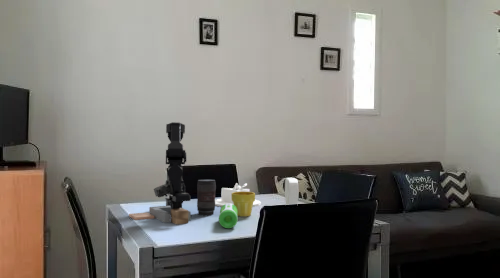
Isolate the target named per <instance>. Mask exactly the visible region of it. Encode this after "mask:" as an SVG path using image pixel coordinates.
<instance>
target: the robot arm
mask: <svg viewBox="0 0 500 278" xmlns="http://www.w3.org/2000/svg"><path fill="white" fill-rule="evenodd" d="M165 126H166V129H165V132H166V134H167V138H168V140H169V142H170V143H168V145H167V149H165V165H168V167H167V179H166V180H165V184H161V185H159V186H157V187H155V188H153V192H154V195H155V197H157V198H162V197H165V198H164V199H165V206H171V209H180V208H183V204H184V202H190V201H191V195H190V193H188V192H186V185H185V180H183V174H184V171H183V166H182V165H185V164H186V163H187V152H186V149H184V144H183V143H181V141H182V140H183V138H184V134H185V133H186V124H183V123H182V122H179V121H178V122H176V121H175V122H169V123H166V125H165Z"/></svg>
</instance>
